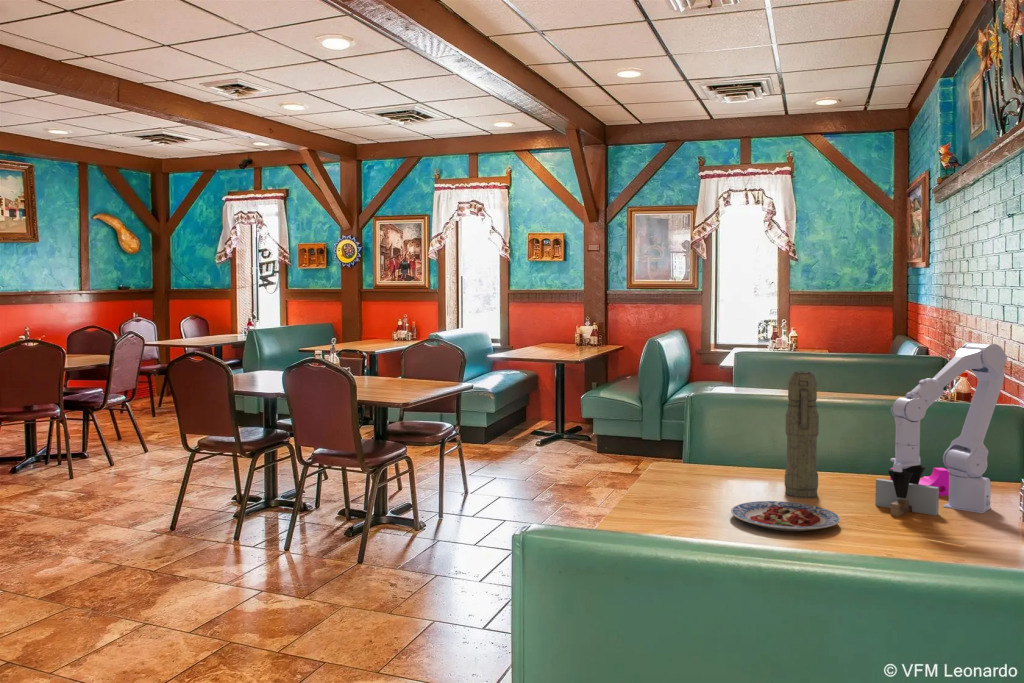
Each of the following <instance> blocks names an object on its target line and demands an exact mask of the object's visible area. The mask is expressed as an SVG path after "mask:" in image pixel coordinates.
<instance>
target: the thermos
mask: <svg viewBox="0 0 1024 683" xmlns="http://www.w3.org/2000/svg"><path fill="white" fill-rule="evenodd" d="M787 384H788V385H787V386H788V391H787V393H788V394H787V400H788V404H787V410H786V412H785V434H786V468H785V471H784V488H785V489H784V490H785V492H784V494H785V495H786V496H788V497H791V498H796V499H797V498H798V499H815V498H817V497H818V489H819V474H818V470H817V455H818V454H817V452H818V451H817V447H818V446H817V445H818V444H817V443H818V442H817V440H818V436H819V431H820V430H819V428H820V426H819V423H820V422H819V421H820V415H819V413H818V412H819V411H818V409H817V408H818V407H817V406H818V405H817V400H818V381H817V379H816V376H815V374H814V373H812V372H811V371H793V372H792V373H791V374H790V376H789V380H788V382H787Z"/></svg>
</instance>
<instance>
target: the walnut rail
mask: <svg viewBox="0 0 1024 683" xmlns="http://www.w3.org/2000/svg"><path fill="white" fill-rule="evenodd" d="M910 511H912V506H909V505H908V500H903V499H899V500H897V501H895V502H893V503H891V508H890V516H892V517H901V516H902V515H904V514H907V513H908V512H910Z"/></svg>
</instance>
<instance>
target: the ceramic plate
mask: <svg viewBox="0 0 1024 683" xmlns="http://www.w3.org/2000/svg"><path fill="white" fill-rule="evenodd" d="M730 512H731V514H732V516H734V517H735V518H737V519H738V520H741V521H742V522H745V523H746V522H747V523H749V524H753V525H755V526H757V527H761V528H765V529H769V530H774V531H783V532H806V531H812V530H817V529H818V530H819V529H826V528H829V527H834V526H836V525H837V524H839V523H840V521H841V517H840V516H839V515H838V514H837V513H836V512H833V511H832V510H830V509H827V508H823V507H821V506H816V505H812V504H807V503H801V502H794V501H792V502H791V501H782V500H780V501H779V500H778V501H777V500H776V501H775V500H761V501H759V500H757V501H750V502H749V501H748V502H744V503H743V502H742V503H739V504H737V505H735V506H733V507H732V508H731V510H730Z"/></svg>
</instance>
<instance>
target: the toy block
mask: <svg viewBox="0 0 1024 683" xmlns="http://www.w3.org/2000/svg"><path fill="white" fill-rule="evenodd" d="M889 469H893V467H890V468H889ZM889 477H890V478H889V480H892V478H891V476H890V475H889ZM919 484H920V485H927V486H934V487H939V496H949V472H948V468H945V467H933V468H932V472H931V474H930V475H929V476H928V475H927V476H926V475H924V476H923V477H921V478H920V481H919Z"/></svg>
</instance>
